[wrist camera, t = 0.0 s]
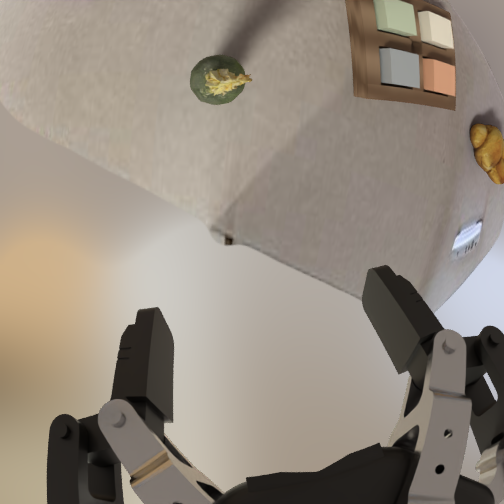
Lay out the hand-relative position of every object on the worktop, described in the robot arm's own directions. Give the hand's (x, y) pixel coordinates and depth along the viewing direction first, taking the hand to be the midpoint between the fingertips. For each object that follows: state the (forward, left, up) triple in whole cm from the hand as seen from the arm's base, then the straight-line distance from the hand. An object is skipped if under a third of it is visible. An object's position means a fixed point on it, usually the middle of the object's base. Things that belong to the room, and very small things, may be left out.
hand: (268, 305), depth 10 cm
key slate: (-10, +24, -26) cm, 37 cm away
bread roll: (+1, +52, -30) cm, 60 cm away
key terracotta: (-10, +32, -26) cm, 43 cm away
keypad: (-14, +28, -29) cm, 43 cm away
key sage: (-18, +24, -26) cm, 40 cm away
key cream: (-18, +32, -26) cm, 45 cm away
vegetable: (-8, 0, -30) cm, 31 cm away
